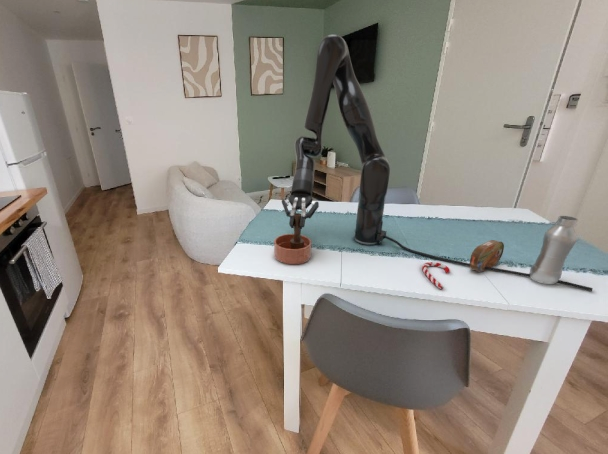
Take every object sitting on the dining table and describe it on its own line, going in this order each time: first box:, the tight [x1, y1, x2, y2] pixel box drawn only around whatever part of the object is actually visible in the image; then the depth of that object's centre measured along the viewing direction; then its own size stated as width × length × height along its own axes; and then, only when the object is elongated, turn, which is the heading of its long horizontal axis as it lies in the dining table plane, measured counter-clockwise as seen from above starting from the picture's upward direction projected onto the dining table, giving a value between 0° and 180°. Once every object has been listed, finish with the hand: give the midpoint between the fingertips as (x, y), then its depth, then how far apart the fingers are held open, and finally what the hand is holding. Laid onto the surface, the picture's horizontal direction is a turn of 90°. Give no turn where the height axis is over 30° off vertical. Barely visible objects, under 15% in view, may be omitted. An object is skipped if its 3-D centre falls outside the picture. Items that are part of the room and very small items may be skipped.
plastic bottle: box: [528, 215, 579, 285], centre depth 82 cm, size 6×7×20 cm
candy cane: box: [421, 261, 451, 290], centre depth 90 cm, size 8×1×15 cm
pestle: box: [290, 212, 304, 249], centre depth 103 cm, size 5×5×14 cm
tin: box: [468, 239, 505, 273], centre depth 93 cm, size 15×3×8 cm, turn 117°
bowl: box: [273, 233, 313, 265], centre depth 105 cm, size 13×13×6 cm
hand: (296, 227), depth 100 cm, fingers closed on pestle, 2 cm apart
